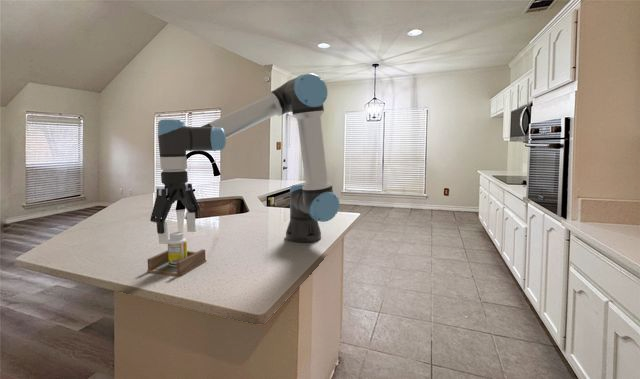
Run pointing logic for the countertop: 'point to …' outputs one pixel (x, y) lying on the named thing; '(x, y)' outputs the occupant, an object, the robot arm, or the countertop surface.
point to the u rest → (183, 266)
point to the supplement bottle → (176, 248)
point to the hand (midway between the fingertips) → (178, 237)
